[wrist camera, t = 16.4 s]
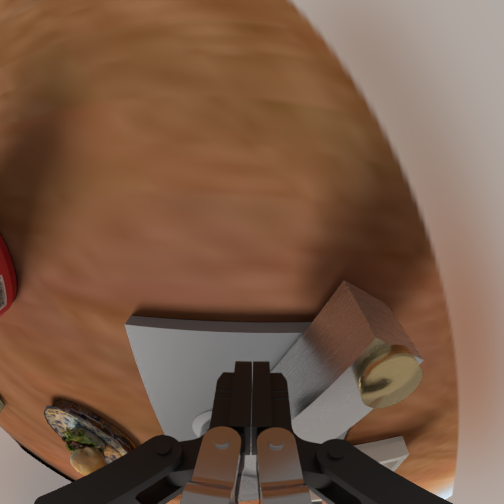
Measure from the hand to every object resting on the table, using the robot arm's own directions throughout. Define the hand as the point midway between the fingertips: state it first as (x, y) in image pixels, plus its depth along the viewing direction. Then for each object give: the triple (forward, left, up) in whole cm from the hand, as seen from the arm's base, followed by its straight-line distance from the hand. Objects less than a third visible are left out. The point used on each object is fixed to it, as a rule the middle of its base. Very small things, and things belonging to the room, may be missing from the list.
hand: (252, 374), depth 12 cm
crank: (-5, -1, -3) cm, 5 cm away
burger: (-18, +19, -5) cm, 26 cm away
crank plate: (-10, 0, -4) cm, 11 cm away
